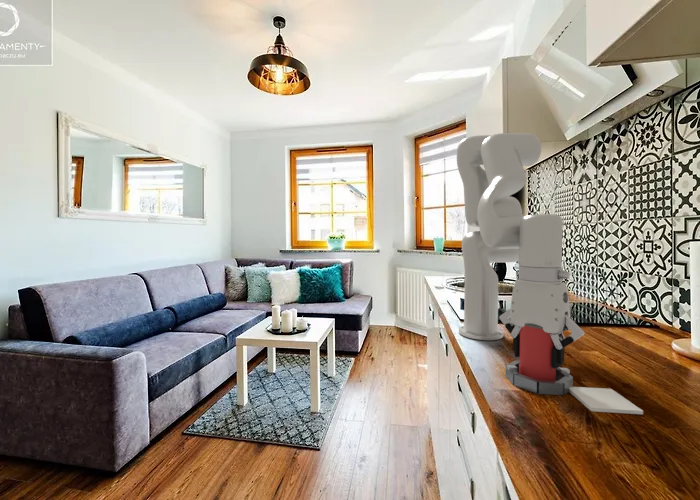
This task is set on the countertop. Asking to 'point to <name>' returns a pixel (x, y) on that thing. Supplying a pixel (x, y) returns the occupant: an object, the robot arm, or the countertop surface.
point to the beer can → (536, 353)
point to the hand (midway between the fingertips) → (537, 360)
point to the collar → (540, 381)
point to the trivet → (604, 400)
